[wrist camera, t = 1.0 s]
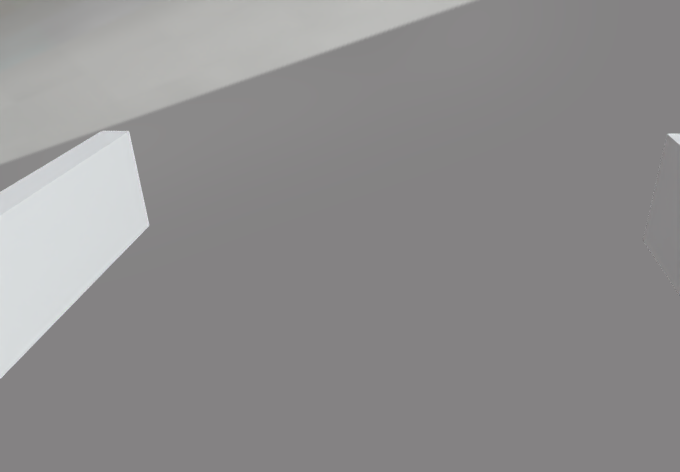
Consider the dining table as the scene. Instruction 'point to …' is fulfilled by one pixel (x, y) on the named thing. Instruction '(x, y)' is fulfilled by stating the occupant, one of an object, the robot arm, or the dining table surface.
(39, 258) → the robot arm
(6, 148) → the dining table surface
